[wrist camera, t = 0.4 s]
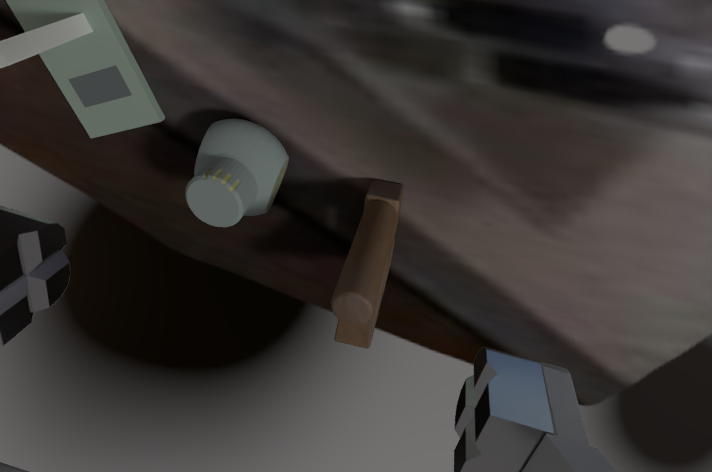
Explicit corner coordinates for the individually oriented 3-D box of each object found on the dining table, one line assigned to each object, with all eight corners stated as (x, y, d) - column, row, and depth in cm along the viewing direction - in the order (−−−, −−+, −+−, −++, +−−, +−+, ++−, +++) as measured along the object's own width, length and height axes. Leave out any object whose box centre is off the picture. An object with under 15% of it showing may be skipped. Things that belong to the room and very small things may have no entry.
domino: (41, 27, 50) (-53, 59, 41) (82, 12, 48) (-7, 43, 39) (51, 45, 51) (-38, 80, 42) (93, 31, 49) (8, 65, 40)
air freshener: (273, 208, 58) (239, 260, 50) (208, 178, 58) (164, 226, 50) (300, 131, 52) (267, 178, 44) (228, 97, 51) (181, 137, 43)
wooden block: (362, 254, 60) (323, 372, 45) (371, 177, 53) (330, 287, 39) (392, 260, 59) (362, 381, 45) (405, 183, 53) (375, 297, 38)
